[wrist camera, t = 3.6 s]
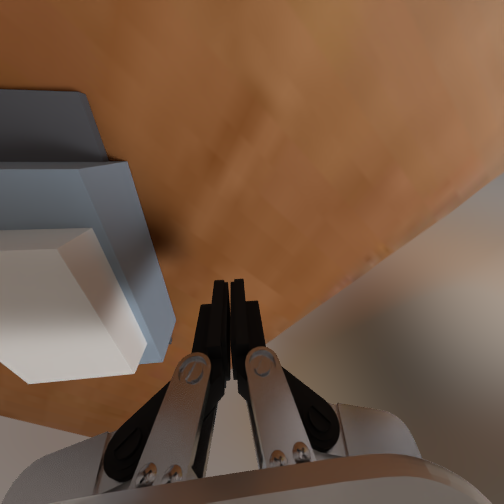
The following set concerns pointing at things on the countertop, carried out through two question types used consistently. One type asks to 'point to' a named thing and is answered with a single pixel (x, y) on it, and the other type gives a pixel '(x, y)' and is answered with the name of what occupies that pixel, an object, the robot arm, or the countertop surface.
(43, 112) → the mat
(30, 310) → the tile
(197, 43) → the countertop surface
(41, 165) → the block
